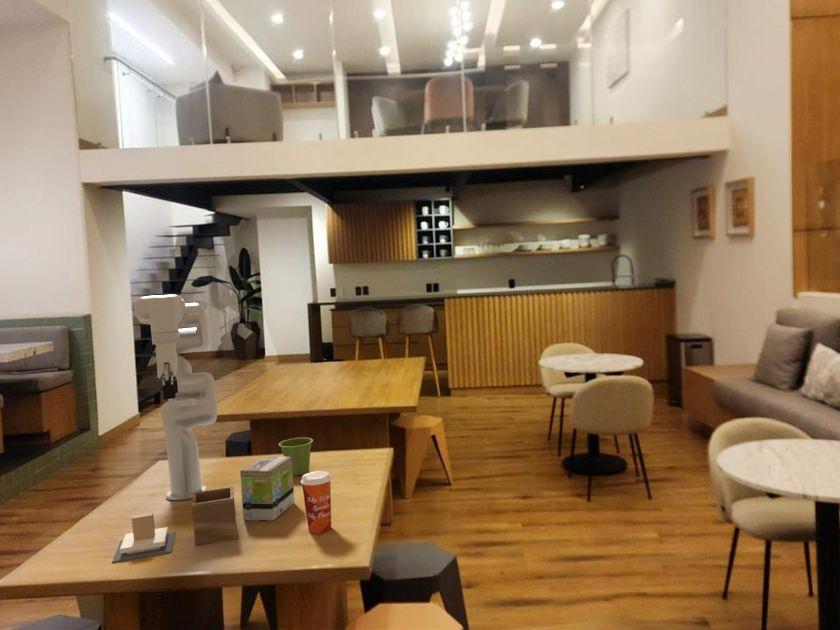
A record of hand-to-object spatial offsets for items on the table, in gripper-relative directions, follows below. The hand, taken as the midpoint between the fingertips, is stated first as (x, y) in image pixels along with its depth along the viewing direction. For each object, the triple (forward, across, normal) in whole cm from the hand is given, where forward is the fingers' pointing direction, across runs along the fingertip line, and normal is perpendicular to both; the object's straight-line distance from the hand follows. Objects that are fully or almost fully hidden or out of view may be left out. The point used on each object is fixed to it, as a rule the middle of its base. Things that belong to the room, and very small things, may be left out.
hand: (171, 396), depth 191 cm
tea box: (+37, +8, +25) cm, 45 cm away
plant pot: (+36, -27, +37) cm, 59 cm away
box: (+36, +20, +10) cm, 43 cm away
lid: (+36, +20, -8) cm, 42 cm away
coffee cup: (+36, +29, +37) cm, 60 cm away
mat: (+36, +20, -8) cm, 42 cm away
